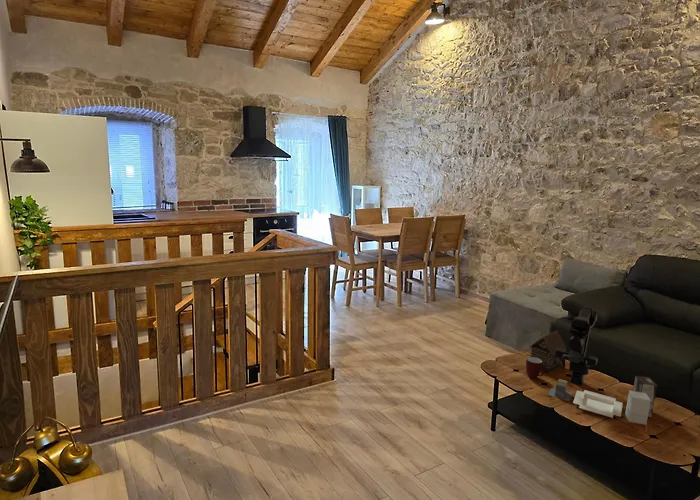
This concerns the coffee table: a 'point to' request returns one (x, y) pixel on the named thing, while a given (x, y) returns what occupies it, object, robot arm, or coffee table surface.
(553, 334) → the model building
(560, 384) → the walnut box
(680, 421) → the coffee table surface
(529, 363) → the mug
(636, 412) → the supplement box
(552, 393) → the slate mat
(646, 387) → the coffee box
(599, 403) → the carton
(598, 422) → the coffee table surface
